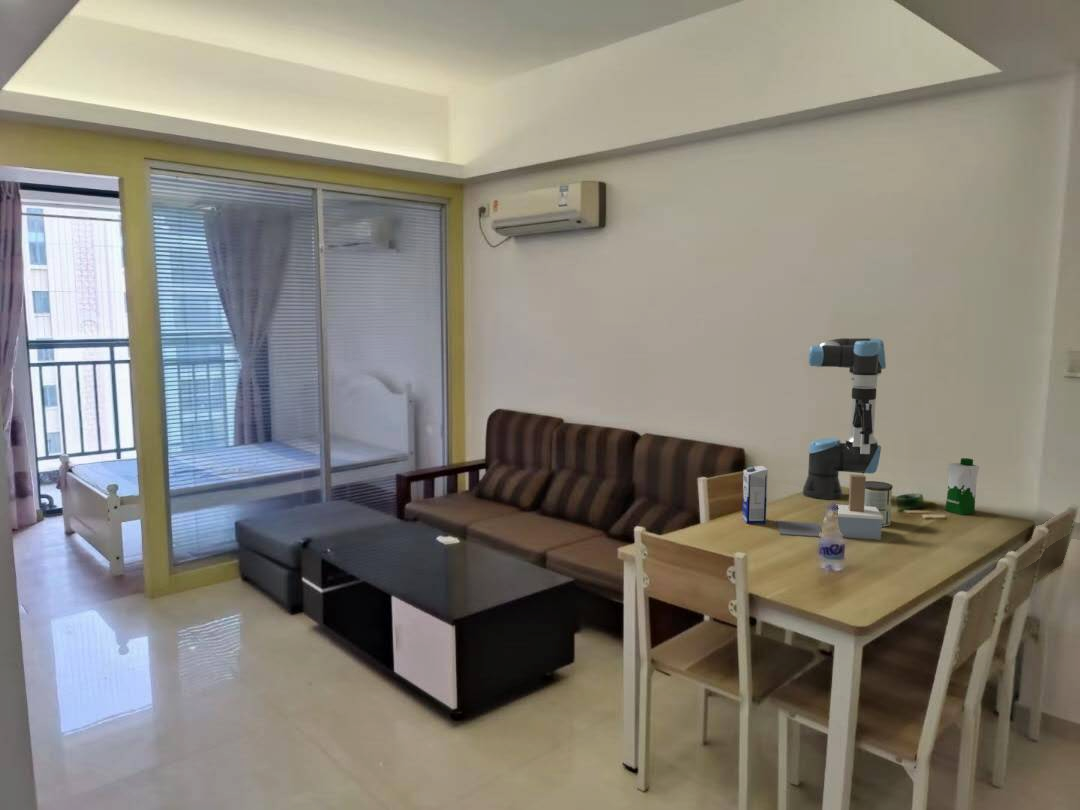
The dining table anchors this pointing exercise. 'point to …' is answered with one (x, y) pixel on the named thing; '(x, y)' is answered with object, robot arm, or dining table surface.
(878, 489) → the coffee can
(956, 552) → the dining table surface
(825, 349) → the robot arm
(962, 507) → the soya milk
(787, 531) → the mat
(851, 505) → the lid
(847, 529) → the box
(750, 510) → the milk carton
